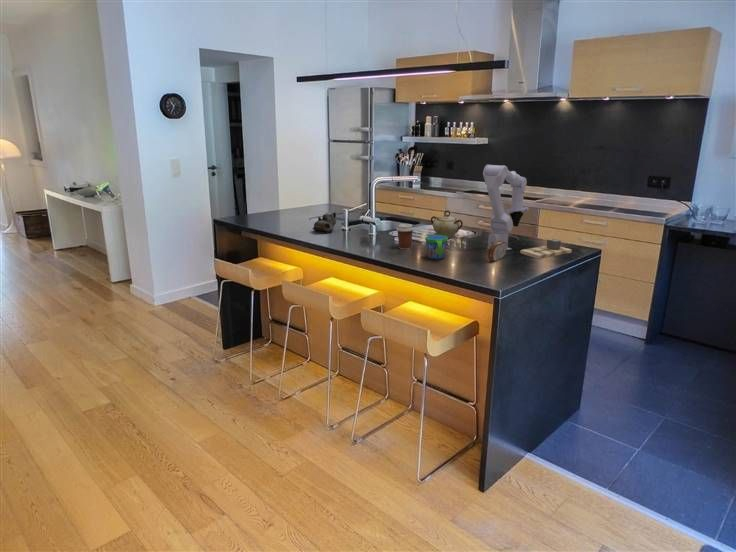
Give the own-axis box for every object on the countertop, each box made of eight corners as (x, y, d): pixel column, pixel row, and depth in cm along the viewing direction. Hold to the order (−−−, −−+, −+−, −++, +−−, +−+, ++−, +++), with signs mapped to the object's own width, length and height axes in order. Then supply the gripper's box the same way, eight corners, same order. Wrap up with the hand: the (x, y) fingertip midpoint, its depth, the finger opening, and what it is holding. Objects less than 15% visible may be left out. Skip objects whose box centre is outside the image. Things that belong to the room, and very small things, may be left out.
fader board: (538, 258, 240) (538, 255, 239) (520, 253, 250) (520, 249, 249) (571, 252, 249) (571, 249, 249) (552, 247, 259) (553, 244, 259)
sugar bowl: (467, 236, 286) (469, 209, 282) (455, 241, 275) (456, 214, 270) (437, 232, 298) (437, 206, 293) (424, 237, 286) (424, 210, 282)
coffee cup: (415, 246, 267) (415, 223, 263) (412, 250, 258) (412, 227, 255) (398, 245, 269) (398, 223, 265) (394, 249, 261) (394, 226, 257)
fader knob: (554, 249, 248) (555, 241, 247) (546, 247, 252) (547, 239, 251) (560, 248, 250) (561, 240, 248) (552, 246, 254) (552, 238, 253)
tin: (501, 255, 246) (502, 238, 244) (507, 256, 244) (508, 239, 242) (486, 262, 235) (487, 244, 233) (493, 263, 233) (494, 245, 231)
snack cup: (423, 253, 252) (423, 233, 249) (444, 253, 252) (445, 233, 249) (426, 262, 237) (427, 241, 234) (449, 262, 237) (450, 240, 234)
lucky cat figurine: (311, 230, 309) (319, 208, 310) (329, 237, 311) (337, 215, 312) (313, 227, 294) (321, 205, 295) (332, 235, 297) (340, 212, 297)
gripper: (512, 202, 255) (510, 229, 259) (533, 199, 261) (531, 225, 265) (502, 200, 261) (500, 226, 265) (523, 198, 267) (521, 223, 271)
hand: (515, 226), depth 265 cm, fingers closed
